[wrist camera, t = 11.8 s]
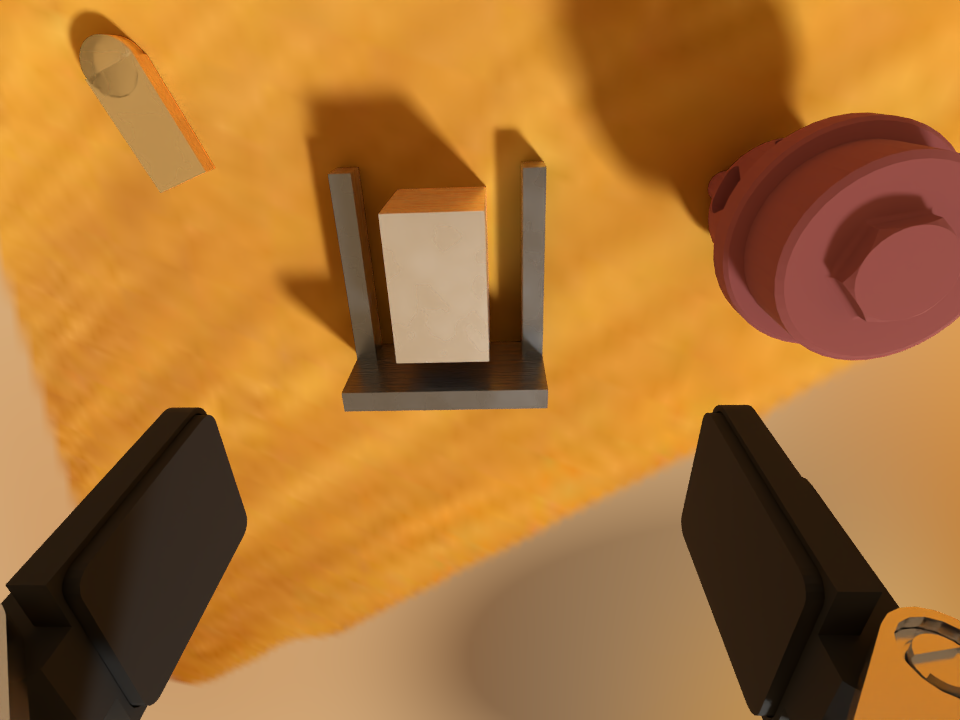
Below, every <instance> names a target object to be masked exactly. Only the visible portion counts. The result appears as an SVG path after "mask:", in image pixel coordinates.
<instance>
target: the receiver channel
mask: <svg viewBox="0 0 960 720" xmlns="http://www.w3.org/2000/svg"><path fill="white" fill-rule="evenodd" d="M328 179H329V185H330V191H331V197H332V204H333V210H334V216H335V222H336V229H337V235H338V241H339V247H340V253H341V260H342V266H343V272H344V278H345V285H346V291H347V297H348V303H349V310H350V316H351V322H352V328H353V335H354V341H355V347H356V353H357V361H356V363H355V365H354V368H353V370H352V372H351V374H350V376H349V378H348V381H347V383H346V385H345V387H344V389H343V391H342V398H343V404H344V409H345V411H399V410H459V409H519V408H547V404H548V387H547V381H546V375H545V369H544V363H543V357H542V343H543V297H544V251H545V205H546V165H545V163H544V162H543V161H529V162H521V341H511V342H490V343H489V361H486V362H439V363H396V355H395V347H394V344H382V337H381V329H380V322H379V314H378V307H377V299H376V292H375V284H374V277H373V270H372V262H371V255H370V247H369V240H368V232H367V225H366V217H365V210H364V202H363V195H362V187H361V180H360V172H359V167H347V168H336V169H335V170H333V171H332V172H330V173H329V174H328Z"/></svg>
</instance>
